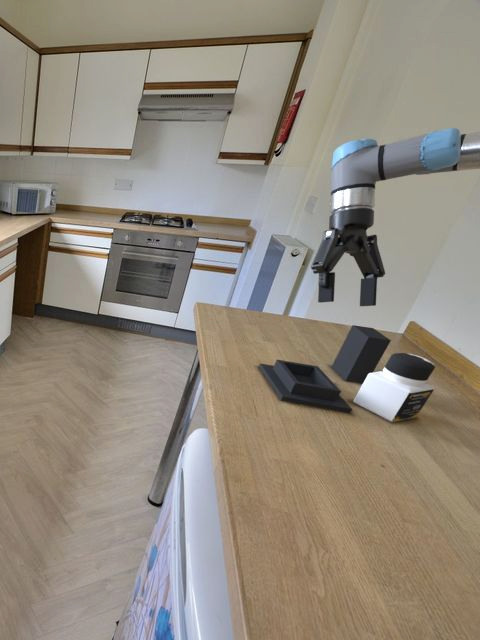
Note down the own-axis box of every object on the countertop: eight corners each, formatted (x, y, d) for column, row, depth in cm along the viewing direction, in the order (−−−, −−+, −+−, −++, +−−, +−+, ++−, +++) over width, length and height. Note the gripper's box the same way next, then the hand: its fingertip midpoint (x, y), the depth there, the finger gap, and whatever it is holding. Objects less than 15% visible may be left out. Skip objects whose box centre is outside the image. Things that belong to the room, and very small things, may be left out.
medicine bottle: (392, 422, 78) (425, 368, 73) (351, 402, 85) (380, 350, 79) (416, 418, 80) (451, 365, 75) (375, 398, 86) (404, 347, 81)
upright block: (350, 369, 98) (373, 327, 93) (366, 384, 92) (391, 340, 87) (331, 366, 99) (352, 325, 94) (345, 380, 93) (368, 337, 88)
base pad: (317, 377, 94) (324, 363, 92) (350, 413, 81) (358, 398, 79) (258, 366, 97) (263, 353, 95) (280, 400, 84) (287, 386, 82)
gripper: (369, 222, 101) (365, 308, 101) (294, 209, 94) (289, 301, 94) (408, 214, 94) (404, 306, 94) (330, 199, 87) (326, 298, 87)
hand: (347, 304), depth 94 cm, fingers open, 13 cm apart
